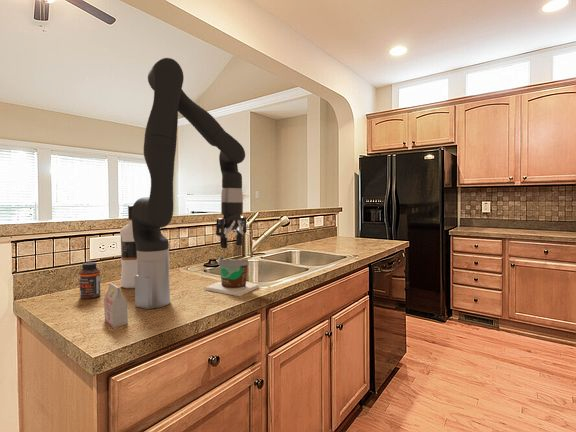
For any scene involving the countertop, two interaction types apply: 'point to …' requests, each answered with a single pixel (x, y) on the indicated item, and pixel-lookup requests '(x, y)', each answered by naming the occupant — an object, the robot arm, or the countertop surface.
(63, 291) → the countertop surface
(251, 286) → the cutting board
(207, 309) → the countertop surface
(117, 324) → the white milk carton
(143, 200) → the robot arm
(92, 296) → the supplement bottle
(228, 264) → the food container
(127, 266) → the vodka
